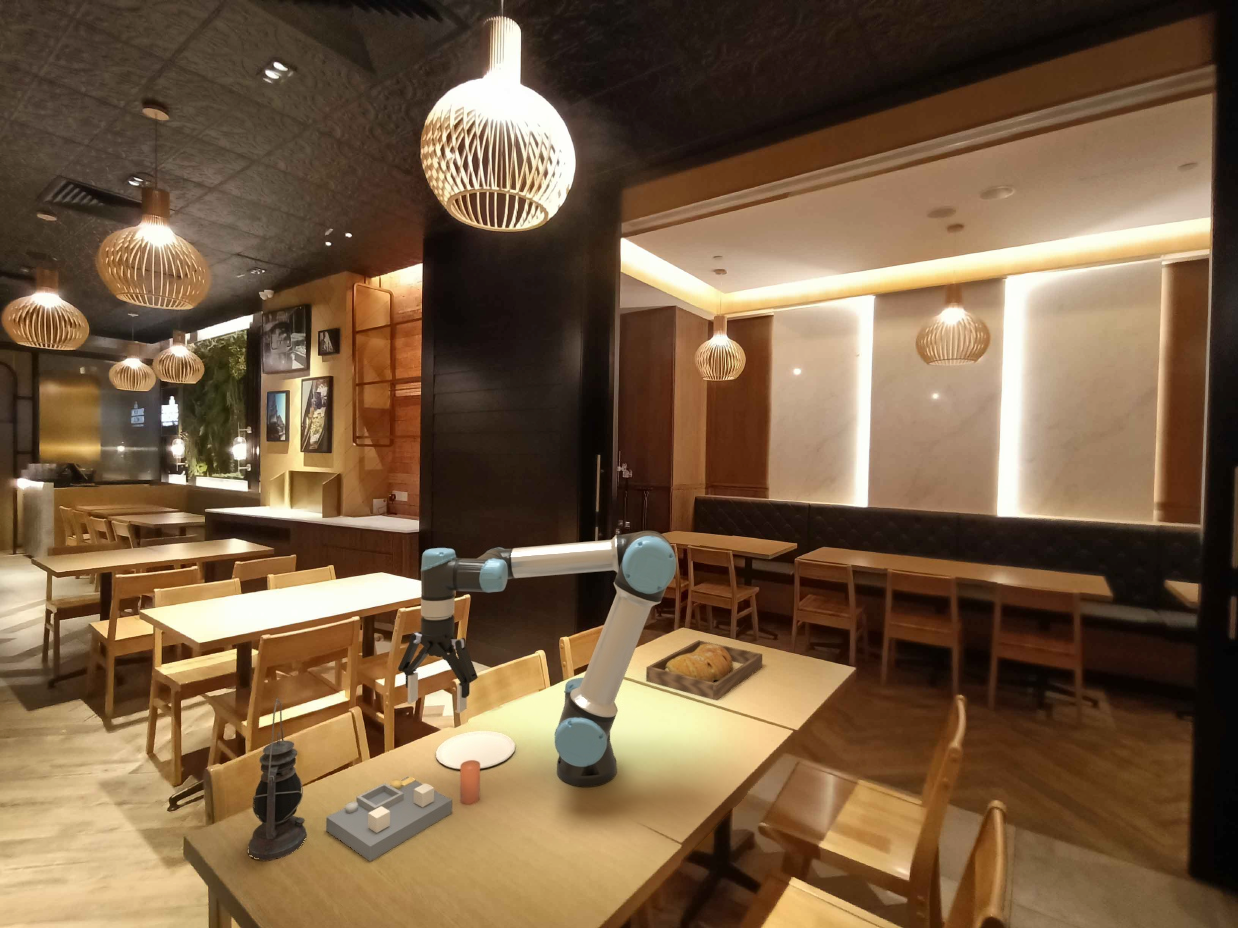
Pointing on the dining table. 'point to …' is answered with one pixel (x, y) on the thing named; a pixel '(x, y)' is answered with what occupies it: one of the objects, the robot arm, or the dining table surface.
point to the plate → (475, 749)
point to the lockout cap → (470, 782)
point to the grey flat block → (403, 817)
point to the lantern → (277, 802)
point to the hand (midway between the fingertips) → (436, 706)
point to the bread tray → (701, 687)
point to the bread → (703, 663)
